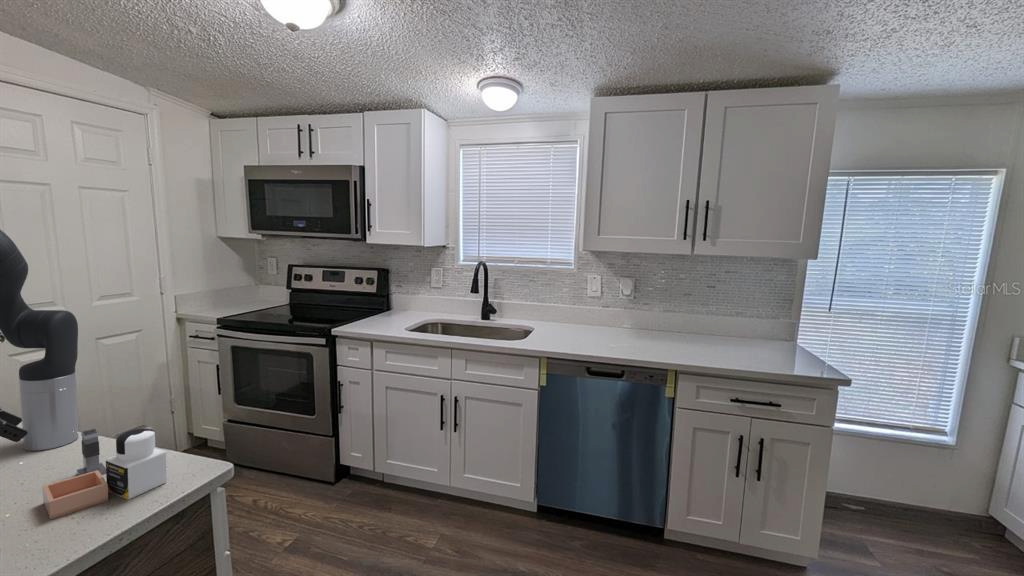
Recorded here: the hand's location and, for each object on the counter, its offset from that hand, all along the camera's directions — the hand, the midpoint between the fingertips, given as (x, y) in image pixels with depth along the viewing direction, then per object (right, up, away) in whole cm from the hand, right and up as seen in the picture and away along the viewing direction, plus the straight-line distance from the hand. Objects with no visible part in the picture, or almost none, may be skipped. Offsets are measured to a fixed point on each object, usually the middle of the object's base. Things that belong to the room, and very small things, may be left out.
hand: (20, 430), depth 83 cm
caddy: (+12, -14, 0) cm, 18 cm away
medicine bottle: (+18, -14, +5) cm, 24 cm away
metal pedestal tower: (+5, -13, +9) cm, 16 cm away
